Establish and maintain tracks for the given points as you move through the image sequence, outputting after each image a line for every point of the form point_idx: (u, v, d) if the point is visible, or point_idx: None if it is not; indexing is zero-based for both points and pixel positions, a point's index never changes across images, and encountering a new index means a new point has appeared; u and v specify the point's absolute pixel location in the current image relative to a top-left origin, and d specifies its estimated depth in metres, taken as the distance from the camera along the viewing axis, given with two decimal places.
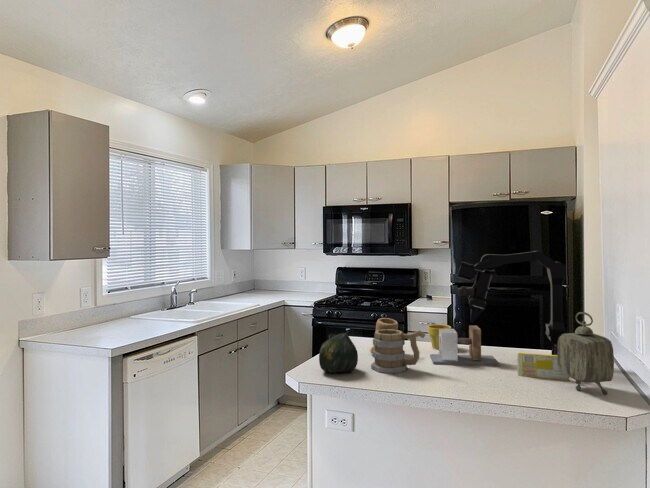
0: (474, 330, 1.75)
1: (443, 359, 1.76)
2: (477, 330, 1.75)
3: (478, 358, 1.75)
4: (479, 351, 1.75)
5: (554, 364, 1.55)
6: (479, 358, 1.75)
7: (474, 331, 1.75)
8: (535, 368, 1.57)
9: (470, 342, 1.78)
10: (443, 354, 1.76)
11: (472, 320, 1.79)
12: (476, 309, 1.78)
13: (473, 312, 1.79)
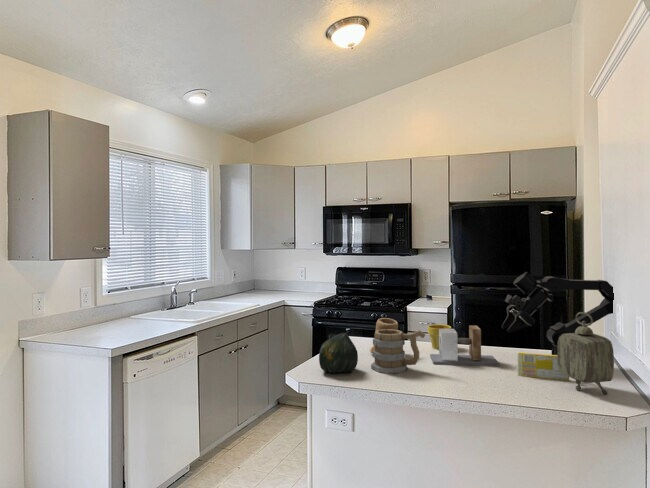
0: (474, 330, 1.75)
1: (443, 359, 1.76)
2: (477, 330, 1.75)
3: (478, 358, 1.75)
4: (479, 351, 1.75)
5: (554, 364, 1.55)
6: (479, 358, 1.75)
7: (474, 331, 1.75)
8: (535, 368, 1.57)
9: (470, 342, 1.78)
10: (443, 354, 1.76)
11: (509, 330, 1.73)
12: (519, 322, 1.72)
13: (515, 324, 1.72)
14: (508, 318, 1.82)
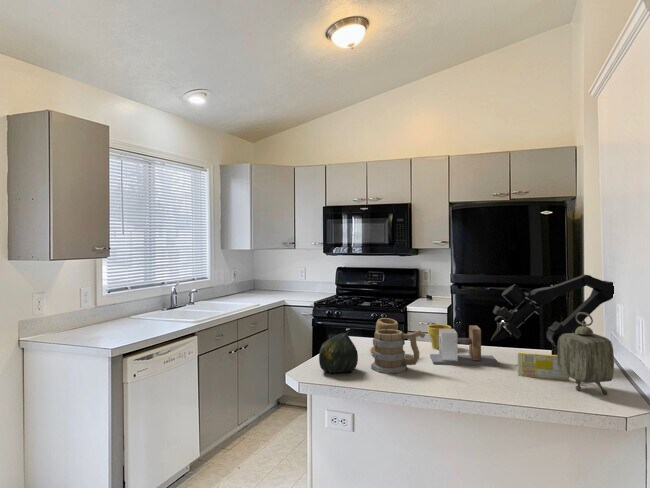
0: (474, 330, 1.75)
1: (443, 359, 1.76)
2: (477, 330, 1.75)
3: (478, 358, 1.75)
4: (479, 351, 1.75)
5: (554, 364, 1.55)
6: (479, 358, 1.75)
7: (474, 331, 1.75)
8: (535, 368, 1.57)
9: (470, 342, 1.78)
10: (443, 354, 1.76)
11: (493, 339, 1.77)
12: (503, 332, 1.76)
13: (499, 333, 1.76)
14: None
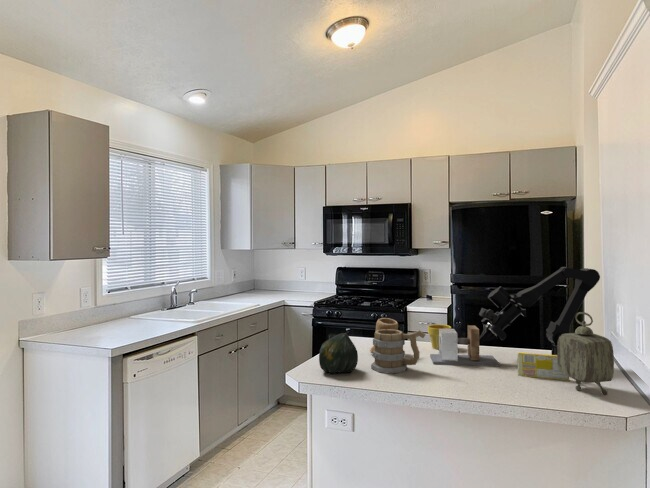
0: (472, 330, 1.75)
1: (443, 359, 1.76)
2: (475, 330, 1.75)
3: (476, 358, 1.75)
4: (477, 351, 1.75)
5: (554, 364, 1.55)
6: (477, 358, 1.75)
7: (472, 331, 1.75)
8: (535, 368, 1.57)
9: (468, 342, 1.78)
10: (443, 354, 1.76)
11: (479, 342, 1.78)
12: (489, 334, 1.77)
13: (485, 335, 1.77)
14: None
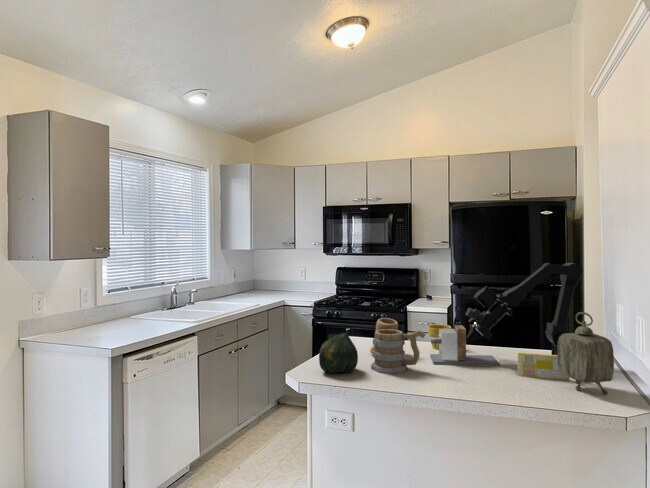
0: (459, 330, 1.76)
1: (443, 359, 1.76)
2: (462, 330, 1.76)
3: (463, 358, 1.76)
4: (464, 351, 1.76)
5: (554, 364, 1.55)
6: (464, 358, 1.76)
7: (459, 331, 1.76)
8: (535, 368, 1.57)
9: None
10: (443, 354, 1.76)
11: (466, 341, 1.79)
12: (476, 334, 1.77)
13: (472, 335, 1.78)
14: (471, 333, 1.79)
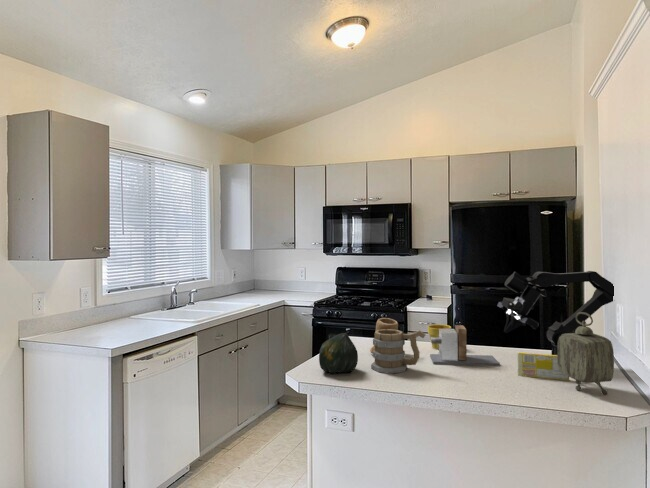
0: (459, 330, 1.76)
1: (443, 359, 1.76)
2: (462, 330, 1.76)
3: (463, 358, 1.76)
4: (464, 351, 1.76)
5: (554, 364, 1.55)
6: (465, 358, 1.76)
7: (459, 331, 1.76)
8: (535, 368, 1.57)
9: None
10: (443, 354, 1.76)
11: (507, 331, 1.77)
12: (515, 322, 1.76)
13: (512, 324, 1.76)
14: (509, 321, 1.77)
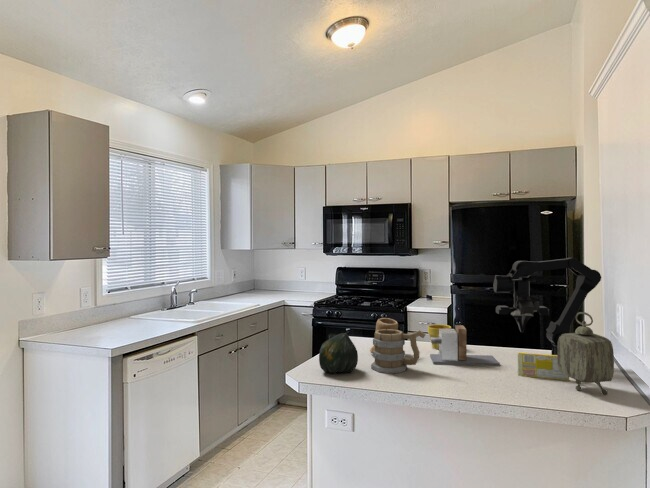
0: (459, 330, 1.76)
1: (443, 359, 1.76)
2: (462, 330, 1.76)
3: (463, 358, 1.76)
4: (464, 351, 1.76)
5: (554, 364, 1.55)
6: (465, 358, 1.76)
7: (459, 331, 1.76)
8: (535, 368, 1.57)
9: None
10: (443, 354, 1.76)
11: None
12: None
13: None
14: None
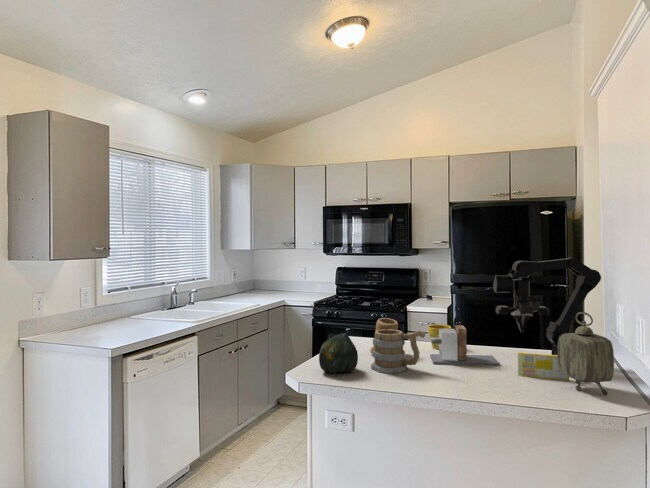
0: (459, 330, 1.76)
1: (443, 359, 1.76)
2: (462, 330, 1.76)
3: (463, 358, 1.76)
4: (464, 351, 1.76)
5: (554, 364, 1.55)
6: (465, 358, 1.76)
7: (459, 331, 1.76)
8: (535, 368, 1.57)
9: None
10: (443, 354, 1.76)
11: None
12: None
13: None
14: None
